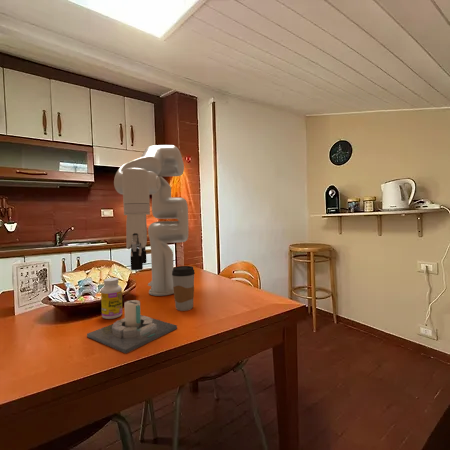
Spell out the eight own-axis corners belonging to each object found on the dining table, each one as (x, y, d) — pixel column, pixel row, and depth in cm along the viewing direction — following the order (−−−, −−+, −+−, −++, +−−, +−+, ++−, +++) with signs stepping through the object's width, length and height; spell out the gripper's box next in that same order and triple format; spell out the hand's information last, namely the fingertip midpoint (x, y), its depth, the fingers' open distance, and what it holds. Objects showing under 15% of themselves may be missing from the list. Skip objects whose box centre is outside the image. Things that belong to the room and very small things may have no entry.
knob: (122, 330, 82) (121, 302, 82) (134, 325, 86) (133, 298, 85) (133, 334, 79) (132, 306, 79) (145, 328, 83) (144, 301, 82)
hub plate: (87, 337, 81) (86, 326, 80) (138, 317, 95) (138, 308, 95) (125, 353, 70) (125, 341, 70) (177, 328, 85) (176, 318, 85)
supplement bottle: (107, 321, 93) (105, 282, 92) (98, 316, 97) (97, 279, 97) (126, 315, 97) (124, 278, 97) (117, 311, 102) (115, 276, 101)
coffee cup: (199, 305, 106) (198, 266, 106) (189, 313, 98) (188, 270, 98) (179, 303, 109) (178, 265, 108) (168, 310, 101) (167, 269, 100)
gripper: (128, 210, 92) (131, 261, 93) (117, 210, 75) (120, 273, 76) (152, 209, 94) (154, 260, 95) (146, 209, 77) (149, 272, 78)
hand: (139, 266), depth 85 cm, fingers open, 9 cm apart
